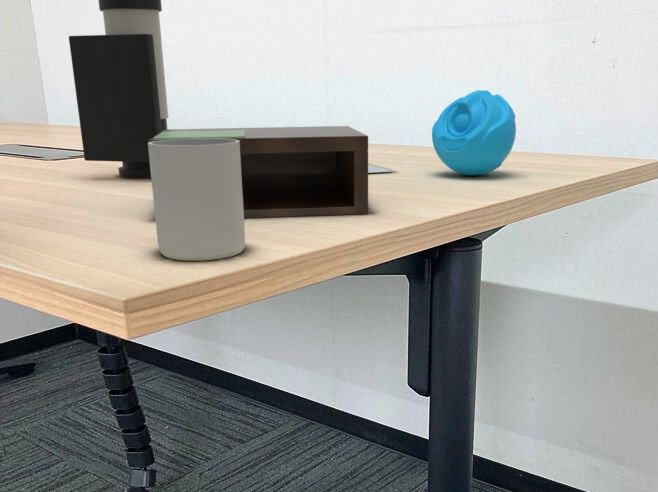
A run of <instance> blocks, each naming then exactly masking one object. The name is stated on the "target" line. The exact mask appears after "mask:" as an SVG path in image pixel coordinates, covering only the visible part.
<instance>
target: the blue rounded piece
mask: <svg viewBox="0 0 658 492" xmlns="http://www.w3.org/2000/svg"><path fill="white" fill-rule="evenodd" d="M516 135H517V126H516V114H515V112H514V109H513V108H512V106H511V105H510V103H509V102H508V101H507V100H506V99H505V98H504V97H503V96H502V95H500V94H492V93H491V92H490V91H489V90H487V89H486V90H483V89H481V90H480V89H478V90H474V91H472V92H470V93H467V95H465V96H461V97H459V98H457V99H456V100H454V101H452V102H451V103H450V104H448V106H446V107H445V108H444V110H442V112H441V113H440V114H439V116H438V118H437V120H436V121H435V122H434V123H433V125H432V129H431V141H432V145H433V148H434V150H435V154H436V155H437V157H438V158H439V159H440V161H441V162H442V164H444V165H445V166H446V167H447V168H448V169H450V170H451V171H453V172H454V173H457V174H460V175H464V176H469V177H470V176H471V177H474V176H475V177H477V176H481V175H487V174H489V173H492V172H494V171H495V170H497V169H499V168H500V167H501V166H502V164H503V162H504V161H505V160H506V159H507V158H508V156H509V155H510V153H511V151H512V149H513V147H514V144H515V141H516Z"/></svg>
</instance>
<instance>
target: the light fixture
mask: <svg viewBox="0 0 658 492" xmlns="http://www.w3.org/2000/svg"><path fill="white" fill-rule="evenodd" d="M98 8H99V11H100V12H102V15H103V16H102V17H103V25H104V34H90V35H87V34H85V35H69V36H68V43H69V51H70V58H71V66H72V74H73V82H74V89H75V96H76V105H77V112H78V120H79V126H80V134H81V135H80V136H81V142H82V150H83V157H84V159H83V160H84V161H87V162H121V163H122V166H120V167H118V168H117V169H118V176H119V177H120V178H123V179H151V170H150V160H149V150H148V140H150V139H151V138H153V137H154V136H156V135H157V134H159V133H160V132H162V131H163V130H165V129H168V121H167V120H168V118H169V108H168V97H167V86H166V84H167V83H166V75H165V73H166V72H165V65H164V64H165V63H164V53H163V52H164V51H163V42H162V41H163V40H162V32H161V31H162V30H161V19H160V13H161V12H163V8H162V0H98Z"/></svg>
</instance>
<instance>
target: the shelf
mask: <svg viewBox="0 0 658 492" xmlns="http://www.w3.org/2000/svg"><path fill="white" fill-rule="evenodd" d="M195 138H219V139H235V140H239V141H240V159H241V176H242V193H243V210H244V219H252V218H253V219H255V218H257V219H258V218H284V217H285V218H288V217H311V216H312V217H315V216H316V217H317V216H318V217H319V216H320V217H321V216H345V215H346V216H347V215H348V216H349V215H368V214H369V173H368V164H369V135H367V134H366V133H363V132H361V131H359V130H357V129H356V128H353V127H352V126H351V127H350V126H349V125H330V126H329V125H328V126H322V125H321V126H277V127H276V126H275V127H274V126H273V127H272V126H271V127H269V126H267V127H224V128H223V127H222V128H221V127H220V128H217V127H215V128H214V127H213V128H167V129H165V130H163V131H162V132H160V133H159V134H157V135H156V136H154V137H153V138H151V139H150V140H148V143H149V142H153V141H160V140H172V139H195Z"/></svg>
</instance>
